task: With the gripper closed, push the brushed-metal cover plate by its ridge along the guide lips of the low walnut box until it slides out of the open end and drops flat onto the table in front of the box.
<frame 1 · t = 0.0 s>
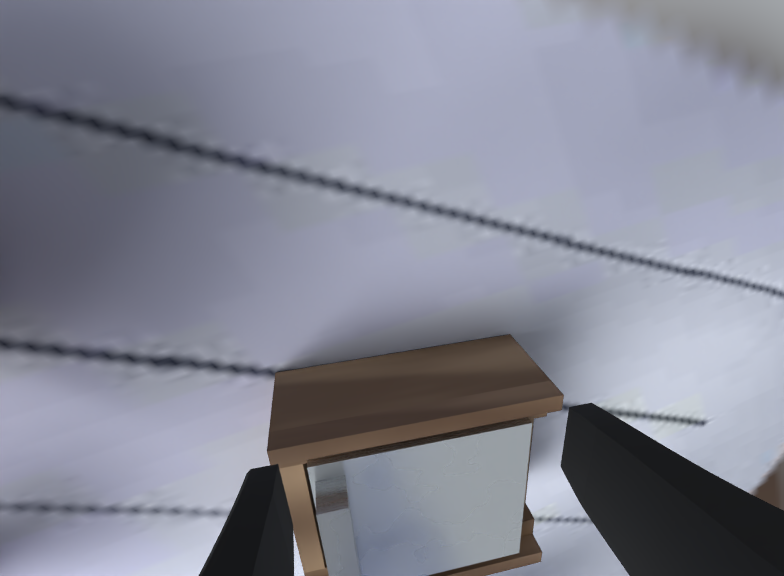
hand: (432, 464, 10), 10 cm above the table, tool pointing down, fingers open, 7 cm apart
cover plate: (421, 496, 19), point 4 cm above the table, touching walnut box
walnut box: (403, 435, 23), on the table
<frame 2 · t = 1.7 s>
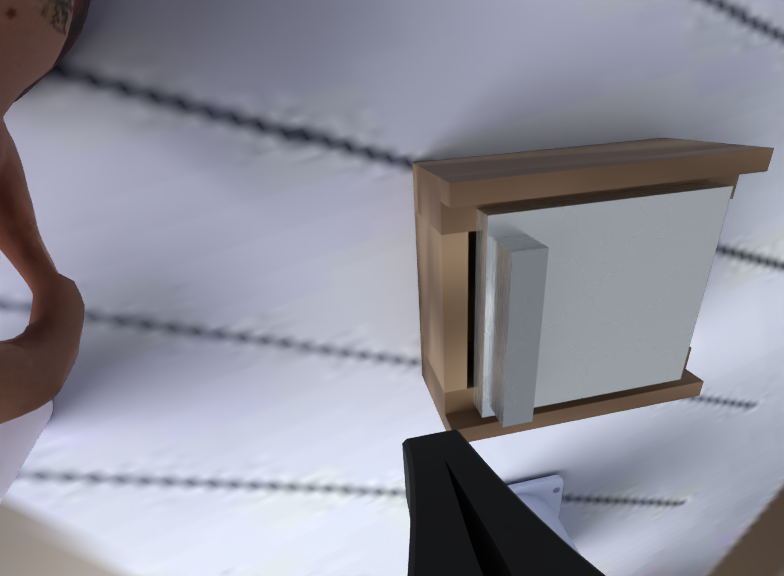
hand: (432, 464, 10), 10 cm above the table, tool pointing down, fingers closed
cover plate: (583, 299, 17), point 4 cm above the table, touching walnut box
smoothie: (7, 399, 18), on the table
walnut box: (534, 265, 21), on the table
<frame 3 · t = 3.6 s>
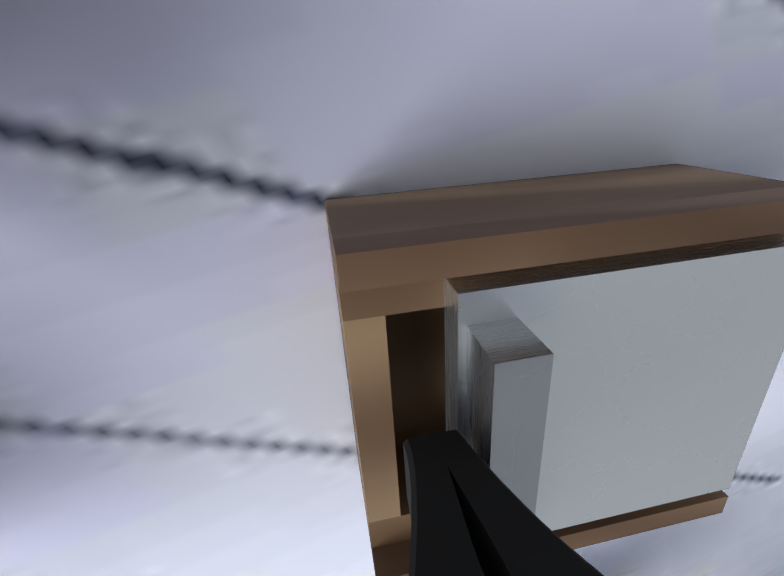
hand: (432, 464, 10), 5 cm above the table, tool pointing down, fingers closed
cover plate: (599, 389, 12), point 4 cm above the table, touching gripper, walnut box
walnut box: (503, 329, 16), on the table
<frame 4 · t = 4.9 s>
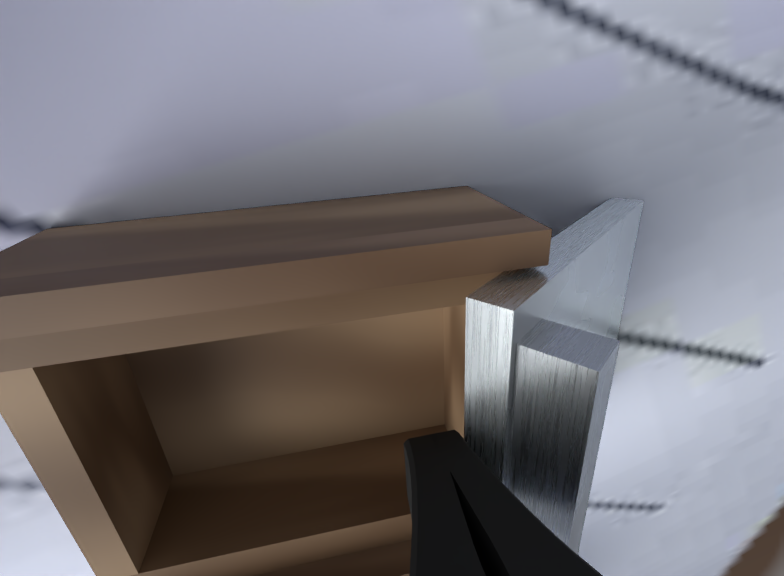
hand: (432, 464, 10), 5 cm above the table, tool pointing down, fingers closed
cover plate: (544, 365, 13), point 3 cm above the table, tilted 38°, touching gripper
walnut box: (301, 361, 14), on the table
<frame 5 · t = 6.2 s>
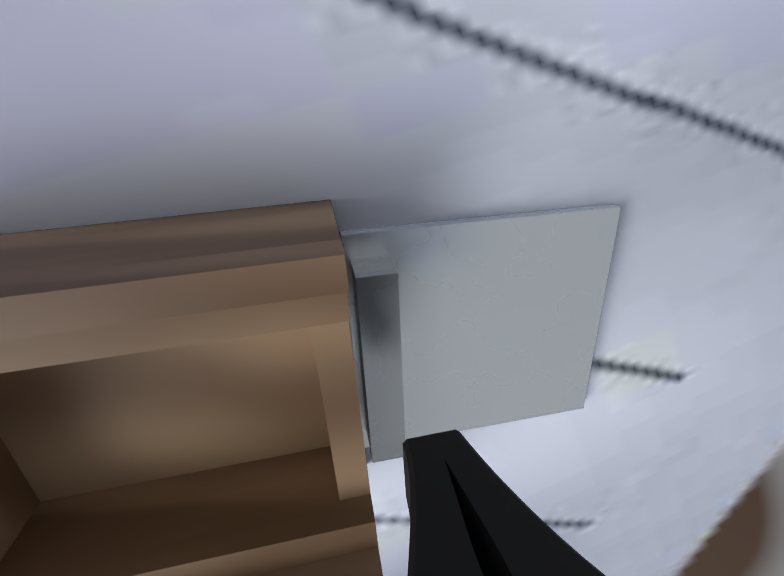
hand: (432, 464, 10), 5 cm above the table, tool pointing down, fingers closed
cover plate: (472, 323, 16), on the table
walnut box: (171, 382, 14), on the table
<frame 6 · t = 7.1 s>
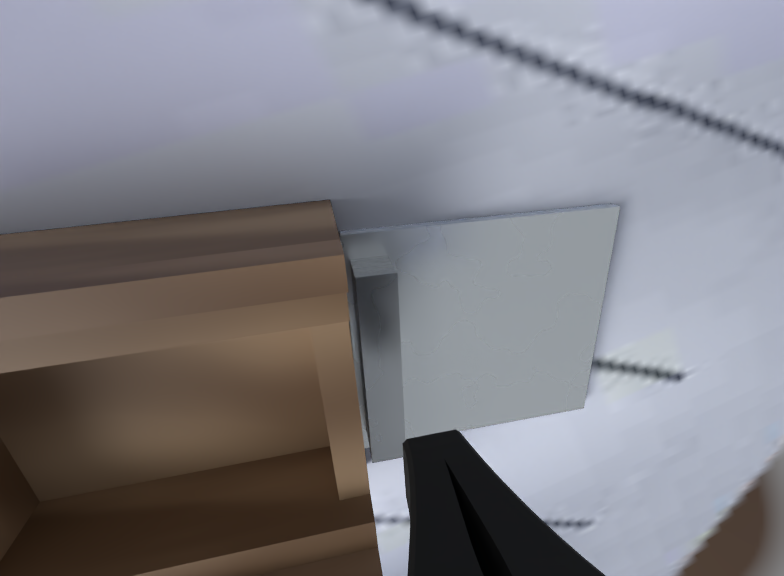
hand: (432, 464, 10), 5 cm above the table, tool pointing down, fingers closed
cover plate: (472, 323, 16), on the table
walnut box: (171, 382, 14), on the table
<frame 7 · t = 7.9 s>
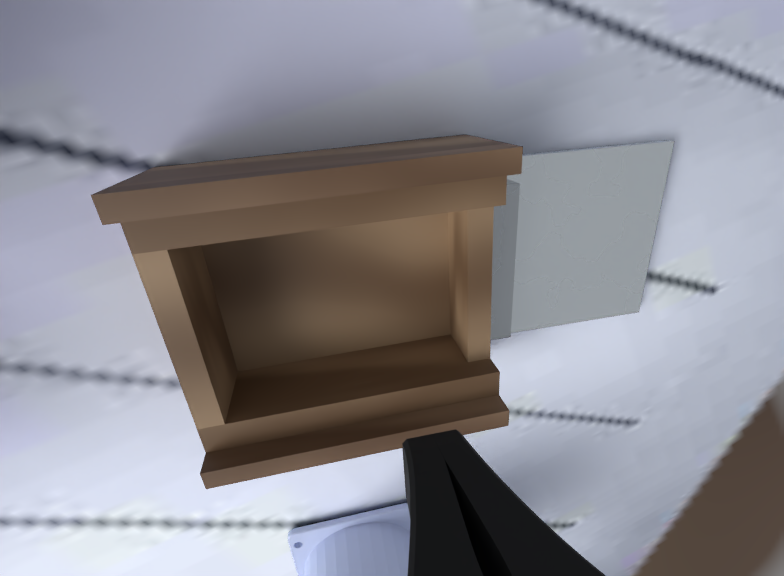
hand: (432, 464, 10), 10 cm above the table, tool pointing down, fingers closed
cover plate: (554, 239, 20), on the table
walnut box: (336, 279, 18), on the table
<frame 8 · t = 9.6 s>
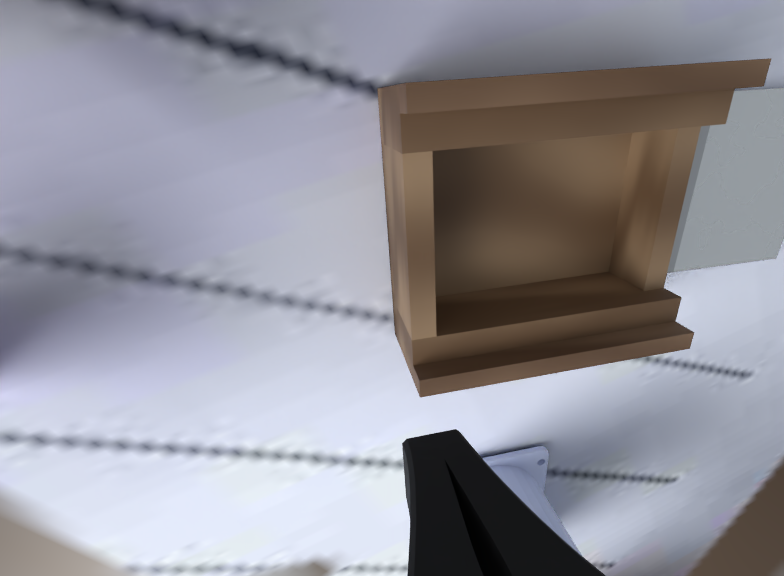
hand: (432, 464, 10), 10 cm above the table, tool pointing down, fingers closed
cover plate: (707, 183, 21), on the table
walnut box: (514, 211, 19), on the table
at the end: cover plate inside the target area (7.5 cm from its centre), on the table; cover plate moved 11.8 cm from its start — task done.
